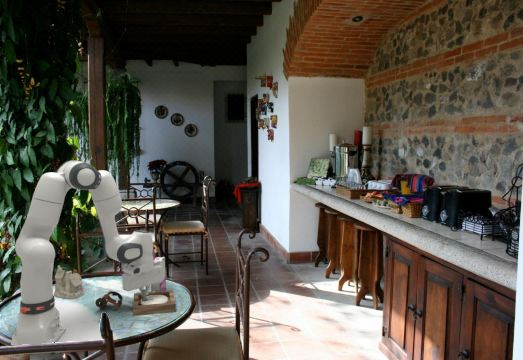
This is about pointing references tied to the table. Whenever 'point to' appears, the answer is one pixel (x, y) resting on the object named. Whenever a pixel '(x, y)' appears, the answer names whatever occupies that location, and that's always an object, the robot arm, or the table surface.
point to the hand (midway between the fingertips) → (144, 295)
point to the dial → (152, 299)
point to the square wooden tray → (154, 308)
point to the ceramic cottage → (68, 285)
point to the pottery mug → (109, 300)
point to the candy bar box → (162, 284)
